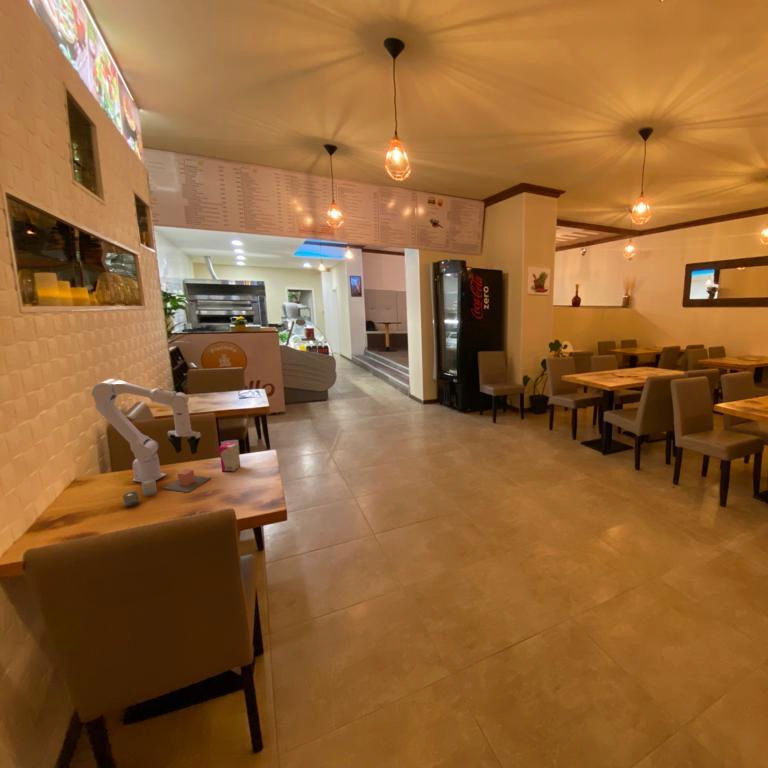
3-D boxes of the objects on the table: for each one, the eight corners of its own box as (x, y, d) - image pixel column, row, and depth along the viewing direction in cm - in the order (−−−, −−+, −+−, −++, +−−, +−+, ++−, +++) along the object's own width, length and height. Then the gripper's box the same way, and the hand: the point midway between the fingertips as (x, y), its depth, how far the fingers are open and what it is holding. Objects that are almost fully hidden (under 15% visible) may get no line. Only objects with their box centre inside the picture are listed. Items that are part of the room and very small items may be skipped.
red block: (179, 484, 145) (177, 473, 144) (187, 480, 148) (185, 469, 147) (187, 486, 144) (185, 474, 142) (194, 481, 147) (193, 470, 146)
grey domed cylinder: (140, 495, 138) (138, 483, 137) (151, 489, 142) (149, 478, 141) (149, 497, 137) (147, 484, 136) (159, 491, 141) (158, 479, 140)
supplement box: (240, 466, 162) (238, 442, 159) (234, 472, 156) (231, 447, 154) (228, 466, 162) (225, 441, 160) (221, 472, 156) (218, 447, 154)
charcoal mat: (163, 488, 142) (163, 488, 142) (187, 475, 154) (187, 474, 154) (188, 492, 139) (187, 491, 139) (210, 478, 150) (210, 477, 150)
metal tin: (121, 506, 130) (119, 496, 129) (133, 500, 134) (131, 490, 133) (130, 508, 129) (129, 498, 128) (142, 502, 133) (140, 492, 132)
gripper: (159, 424, 149) (164, 455, 152) (190, 426, 146) (194, 457, 148) (173, 418, 156) (177, 448, 158) (202, 420, 152) (206, 451, 155)
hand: (186, 452), depth 154 cm, fingers open, 7 cm apart
